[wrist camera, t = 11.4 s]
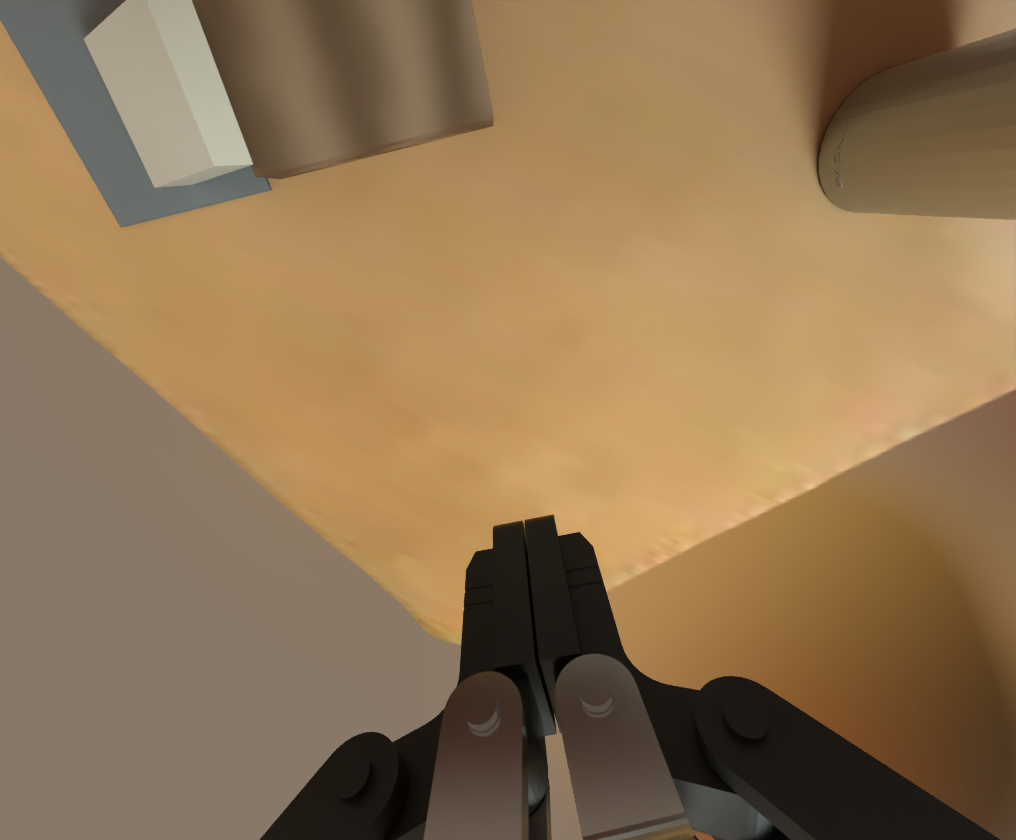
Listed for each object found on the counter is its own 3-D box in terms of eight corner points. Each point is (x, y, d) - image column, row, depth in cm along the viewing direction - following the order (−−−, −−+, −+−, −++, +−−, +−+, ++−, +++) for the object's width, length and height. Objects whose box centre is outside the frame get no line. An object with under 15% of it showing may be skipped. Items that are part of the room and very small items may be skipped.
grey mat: (154, -95, 25) (150, -98, 25) (271, 189, 32) (270, 189, 32) (-30, -39, 26) (-35, -42, 26) (123, 227, 33) (120, 227, 33)
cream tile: (191, -2, 24) (140, -14, 22) (253, 164, 28) (214, 166, 26) (130, 45, 28) (83, 39, 26) (191, 184, 32) (154, 187, 30)
